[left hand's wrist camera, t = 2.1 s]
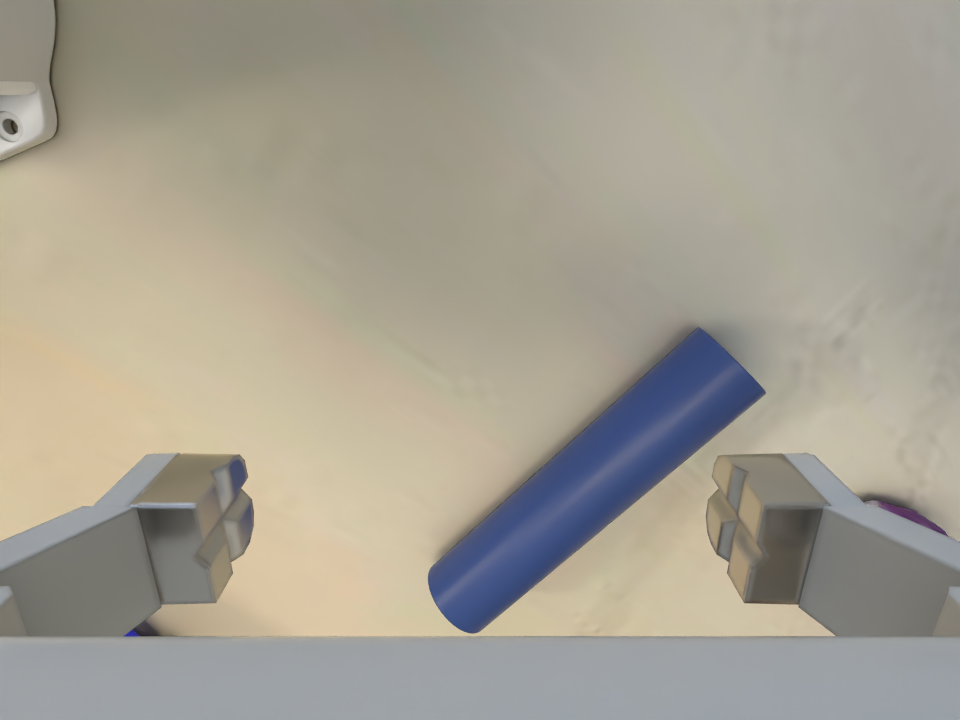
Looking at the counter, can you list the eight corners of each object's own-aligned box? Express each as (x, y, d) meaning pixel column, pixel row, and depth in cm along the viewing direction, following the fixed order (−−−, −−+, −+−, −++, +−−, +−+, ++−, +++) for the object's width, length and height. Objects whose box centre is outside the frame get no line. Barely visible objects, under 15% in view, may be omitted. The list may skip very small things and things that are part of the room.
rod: (483, 589, 50) (486, 648, 44) (429, 550, 48) (425, 606, 43) (739, 370, 43) (781, 406, 38) (686, 316, 42) (722, 346, 36)
